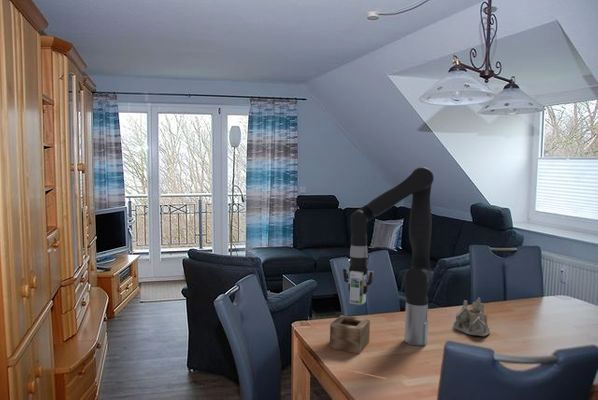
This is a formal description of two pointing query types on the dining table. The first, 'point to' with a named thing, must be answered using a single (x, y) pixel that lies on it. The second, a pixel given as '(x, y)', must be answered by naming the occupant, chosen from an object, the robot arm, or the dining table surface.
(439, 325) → the dining table surface
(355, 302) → the syrup box
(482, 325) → the ceramic cottage
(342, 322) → the box
